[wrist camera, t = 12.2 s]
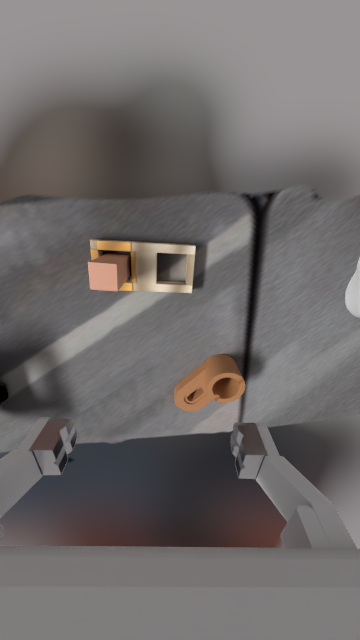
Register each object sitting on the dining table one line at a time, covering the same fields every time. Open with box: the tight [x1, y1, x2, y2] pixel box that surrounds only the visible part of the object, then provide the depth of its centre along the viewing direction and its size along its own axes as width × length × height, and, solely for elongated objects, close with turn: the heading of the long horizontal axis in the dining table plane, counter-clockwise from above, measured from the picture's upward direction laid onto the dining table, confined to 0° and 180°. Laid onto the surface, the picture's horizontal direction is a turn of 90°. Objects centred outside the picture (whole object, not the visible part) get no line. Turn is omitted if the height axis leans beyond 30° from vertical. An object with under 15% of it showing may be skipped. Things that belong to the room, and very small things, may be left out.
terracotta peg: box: [88, 253, 130, 291], centre depth 35 cm, size 4×4×10 cm
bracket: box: [174, 354, 245, 411], centre depth 49 cm, size 18×8×7 cm, turn 135°
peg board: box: [90, 239, 196, 293], centre depth 38 cm, size 18×8×3 cm, turn 87°
